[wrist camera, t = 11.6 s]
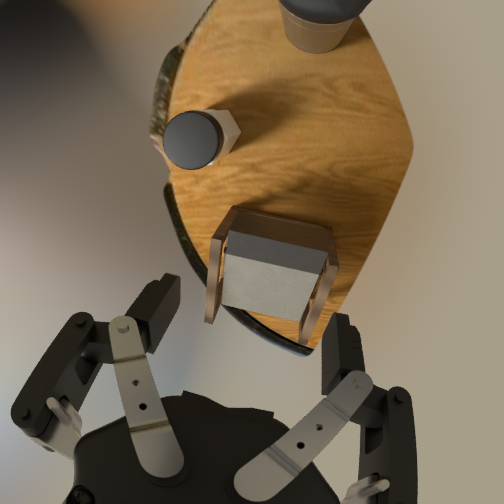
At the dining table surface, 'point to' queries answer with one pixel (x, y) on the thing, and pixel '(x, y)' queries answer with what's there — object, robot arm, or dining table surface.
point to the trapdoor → (272, 265)
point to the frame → (216, 247)
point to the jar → (199, 137)
